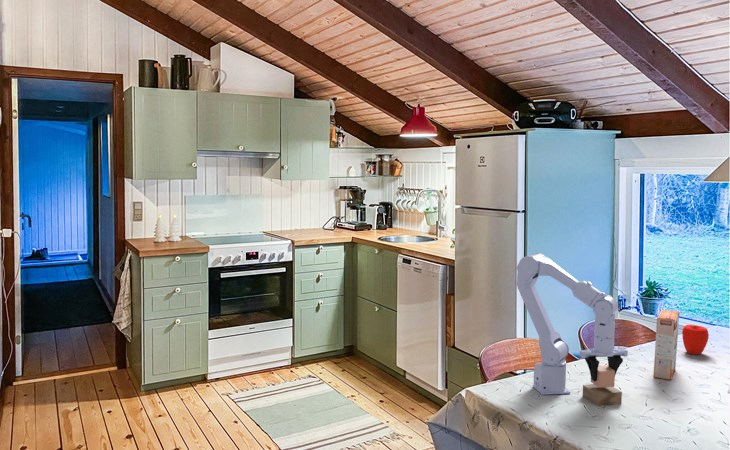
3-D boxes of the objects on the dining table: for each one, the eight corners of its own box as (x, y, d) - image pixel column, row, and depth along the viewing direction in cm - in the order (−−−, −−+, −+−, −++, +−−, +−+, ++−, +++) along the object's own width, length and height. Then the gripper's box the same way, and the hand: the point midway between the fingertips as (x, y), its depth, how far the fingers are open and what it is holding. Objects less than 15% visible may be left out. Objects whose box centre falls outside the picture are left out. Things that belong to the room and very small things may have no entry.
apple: (708, 352, 240) (709, 324, 239) (706, 358, 232) (708, 329, 231) (682, 348, 244) (683, 321, 243) (679, 354, 237) (681, 326, 236)
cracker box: (672, 381, 208) (675, 319, 206) (652, 377, 211) (655, 317, 209) (676, 369, 220) (680, 311, 218) (658, 366, 223) (661, 308, 221)
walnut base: (598, 407, 186) (598, 394, 186) (582, 397, 194) (582, 385, 194) (621, 404, 188) (621, 391, 188) (605, 395, 196) (605, 382, 196)
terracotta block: (598, 387, 188) (599, 371, 187) (590, 381, 193) (591, 366, 192) (614, 386, 189) (615, 370, 188) (605, 381, 194) (606, 365, 193)
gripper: (588, 340, 184) (586, 385, 186) (634, 339, 186) (631, 383, 188) (576, 334, 191) (575, 377, 193) (621, 332, 193) (619, 375, 195)
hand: (602, 379), depth 191 cm, fingers closed on terracotta block, 5 cm apart
